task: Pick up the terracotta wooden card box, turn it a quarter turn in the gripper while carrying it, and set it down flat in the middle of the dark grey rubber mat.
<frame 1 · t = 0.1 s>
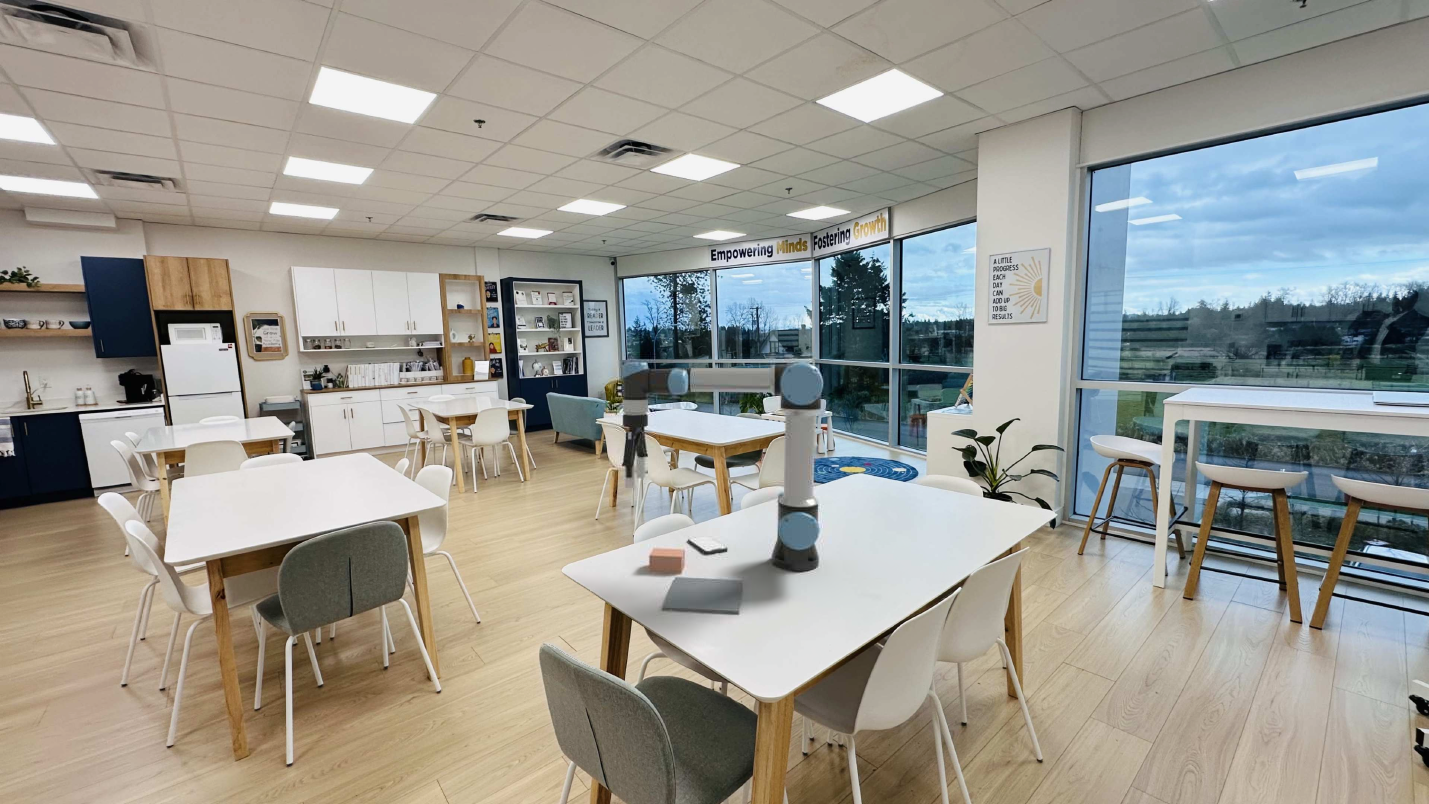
hand: (635, 483, 169), 28 cm above the table, tool pointing down, fingers open, 13 cm apart
card box: (667, 569, 174), on the table
smartphone: (707, 547, 195), on the table
mat: (704, 595, 155), on the table
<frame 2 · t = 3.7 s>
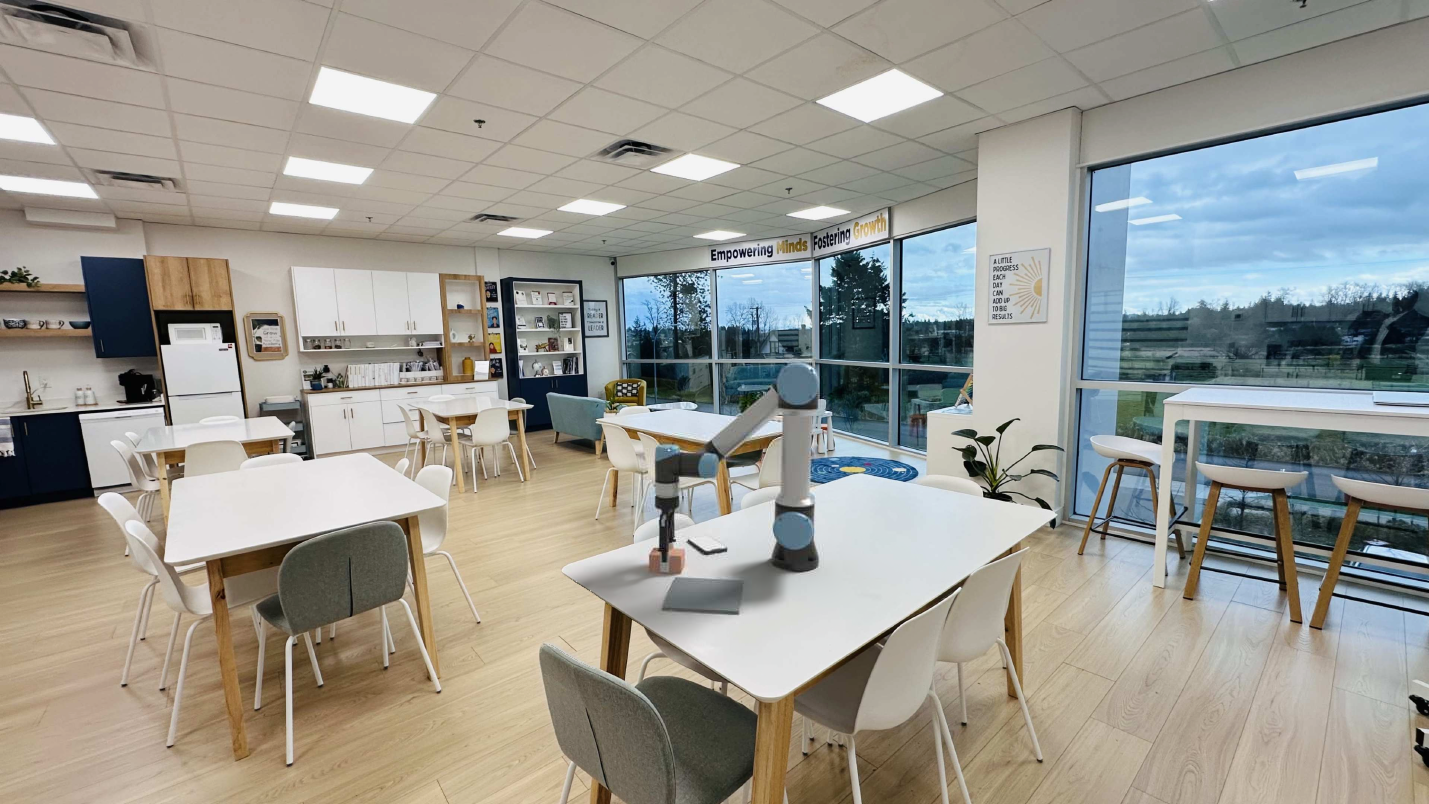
hand: (667, 567, 174), 1 cm above the table, tool pointing down, fingers closed on card box, 6 cm apart
card box: (667, 568, 174), on the table, touching gripper
everything else where it was.
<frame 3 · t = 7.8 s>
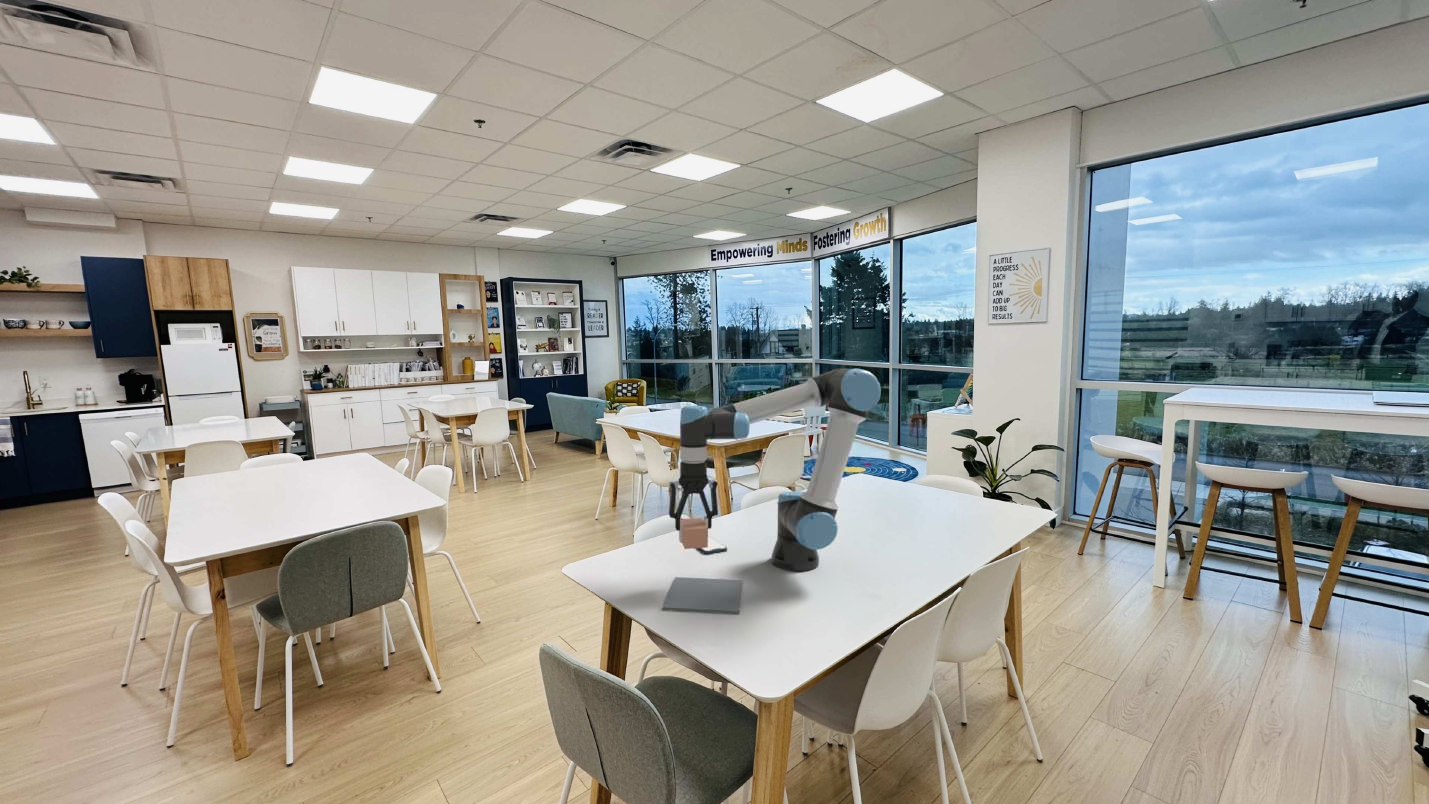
hand: (693, 540, 159), 14 cm above the table, tool pointing down, fingers closed on card box, 6 cm apart
card box: (693, 542, 159), point 13 cm above the table, touching gripper
everything else where it was.
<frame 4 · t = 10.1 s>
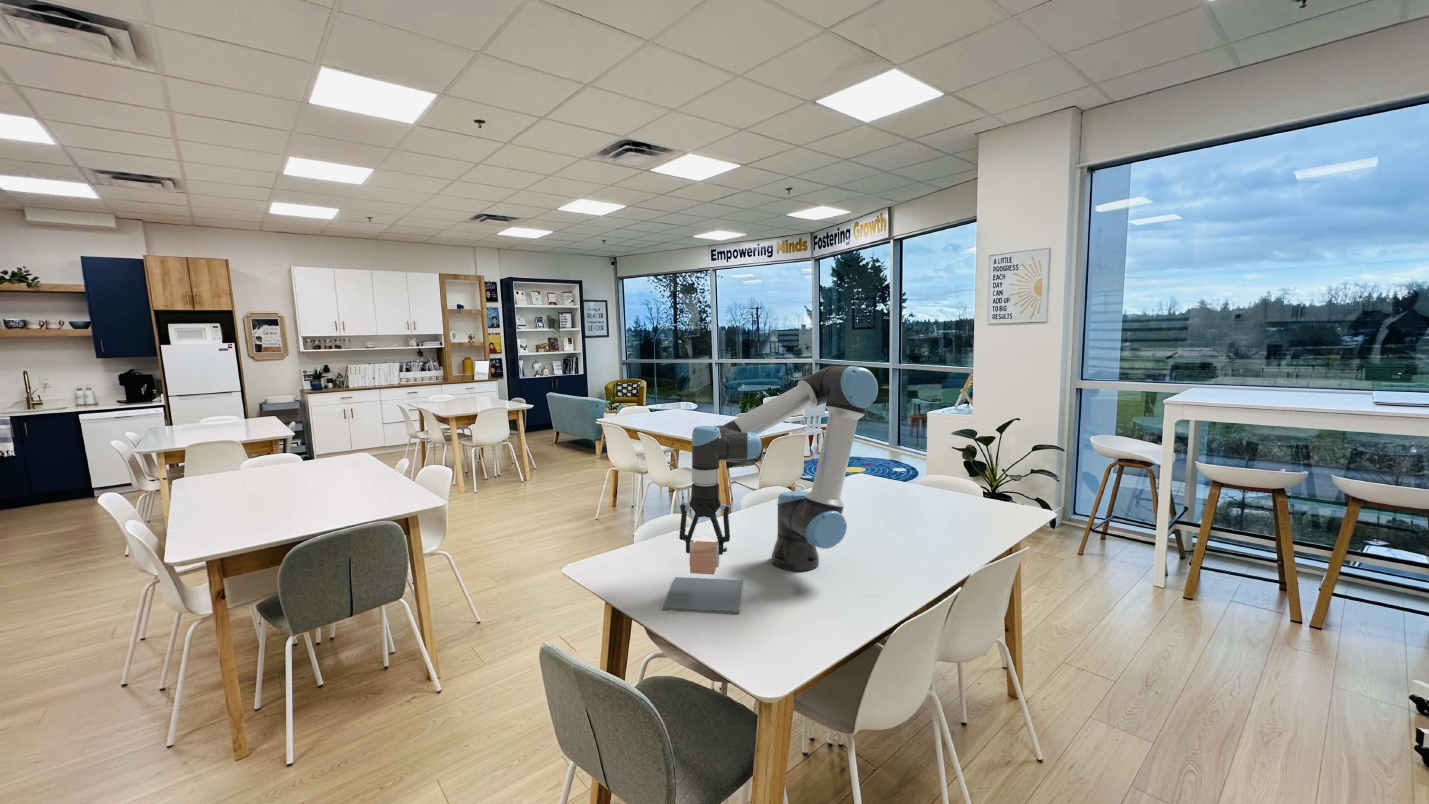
hand: (704, 564, 154), 9 cm above the table, tool pointing down, fingers closed on card box, 6 cm apart
card box: (704, 566, 154), point 8 cm above the table, touching gripper
everything else where it was.
when the fingers open (3 cm above the table, at t = 12.2 s): card box drops 2 cm, resting on mat.
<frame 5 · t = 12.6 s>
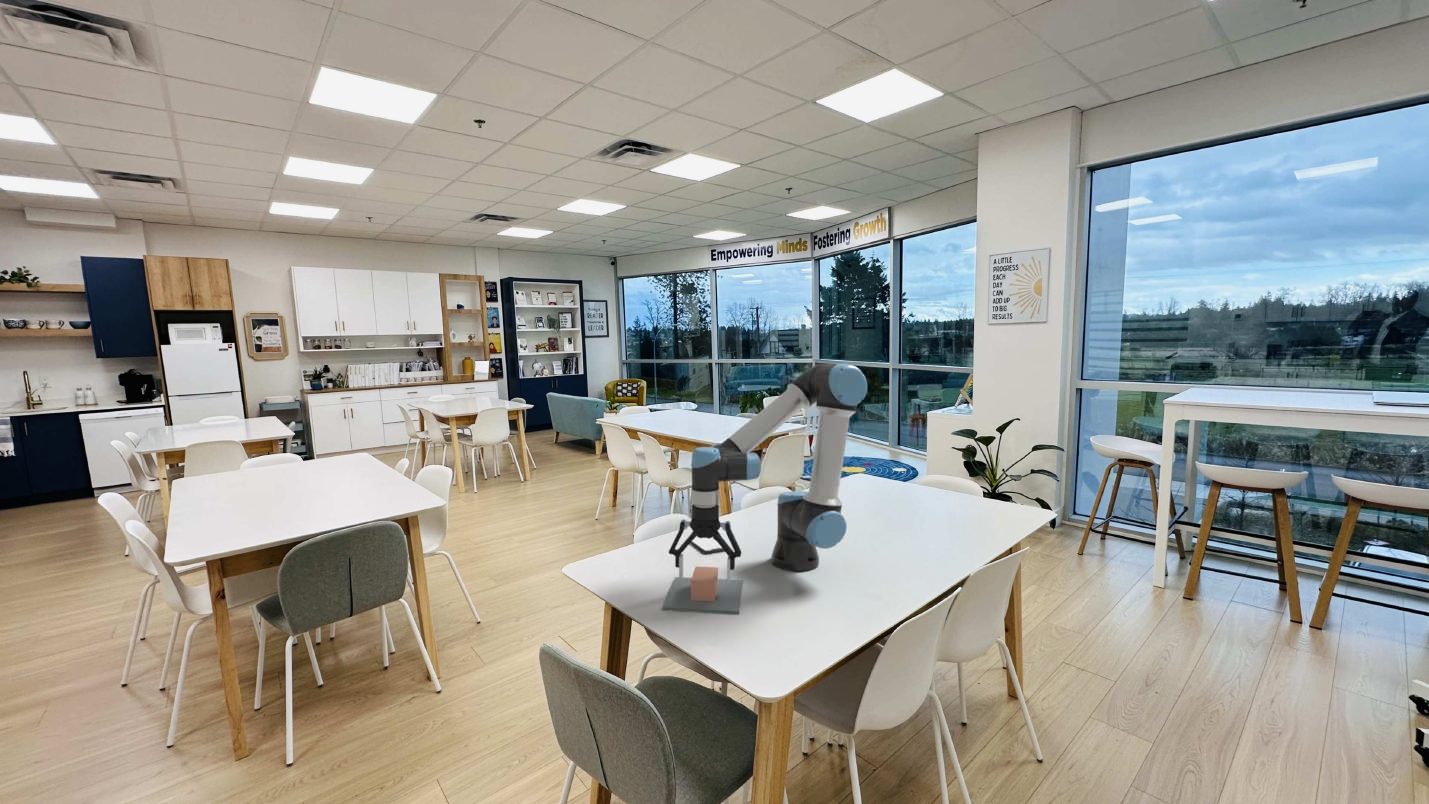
hand: (704, 579, 154), 5 cm above the table, tool pointing down, fingers open, 13 cm apart
card box: (704, 592, 154), point 1 cm above the table, touching mat
everything else where it was.
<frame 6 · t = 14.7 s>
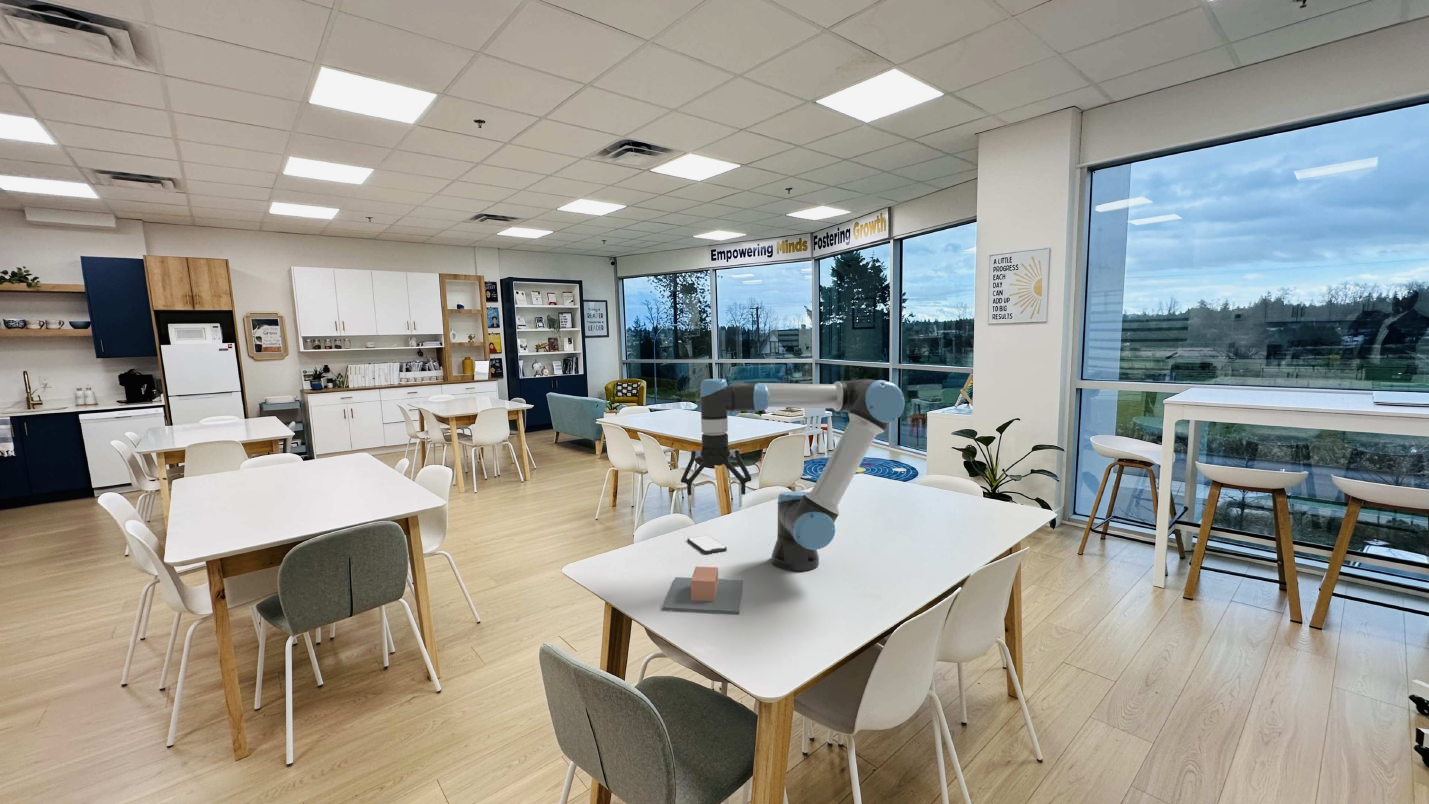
hand: (716, 505, 161), 23 cm above the table, tool pointing down, fingers open, 13 cm apart
nothing on the table moved.
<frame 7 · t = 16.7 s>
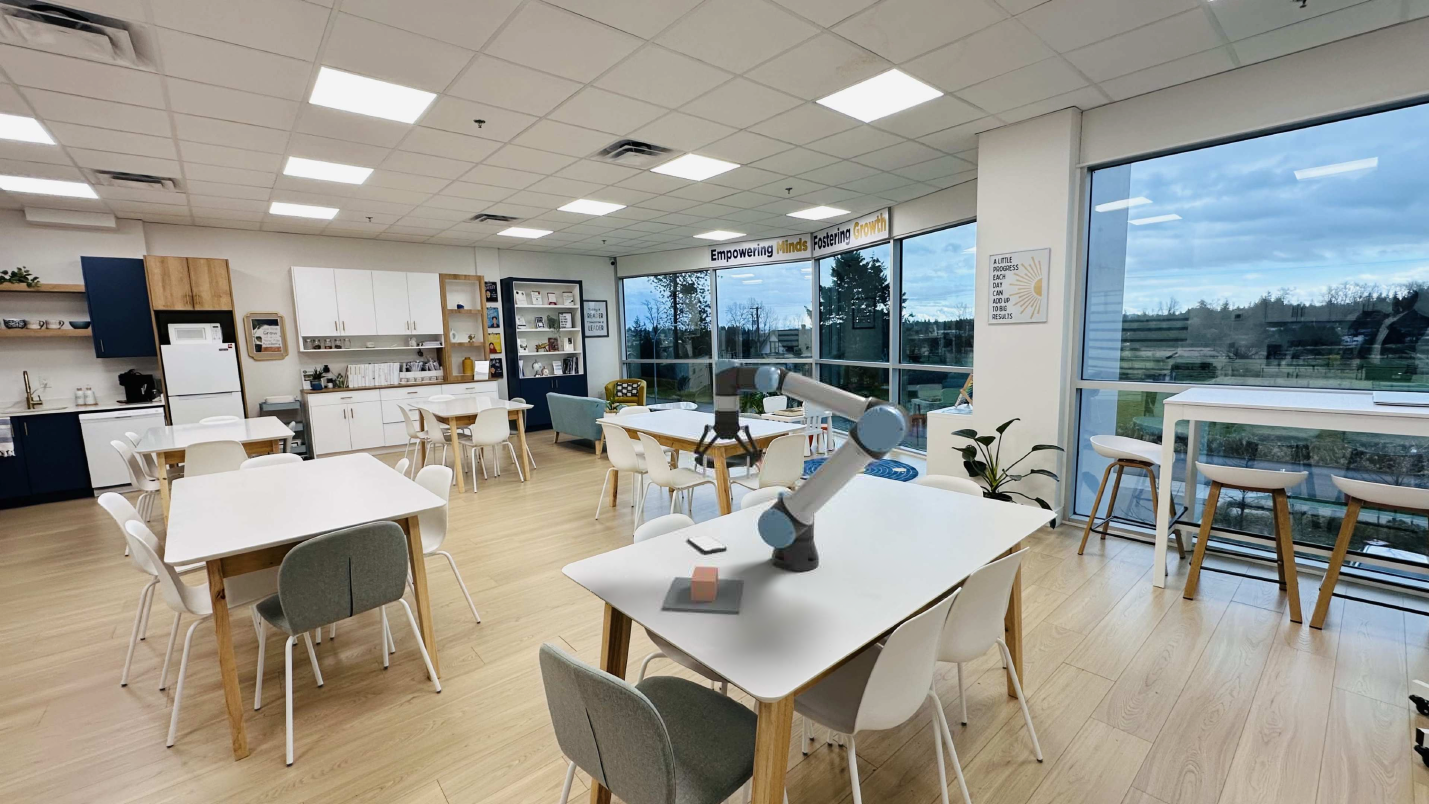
hand: (726, 477, 174), 29 cm above the table, tool pointing down, fingers open, 13 cm apart
nothing on the table moved.
at the end: card box inside the target area on the mat (0.0 cm from its centre), point 0.8 cm above the mat's base; card box tilted 0°; the gripper is holding nothing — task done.
